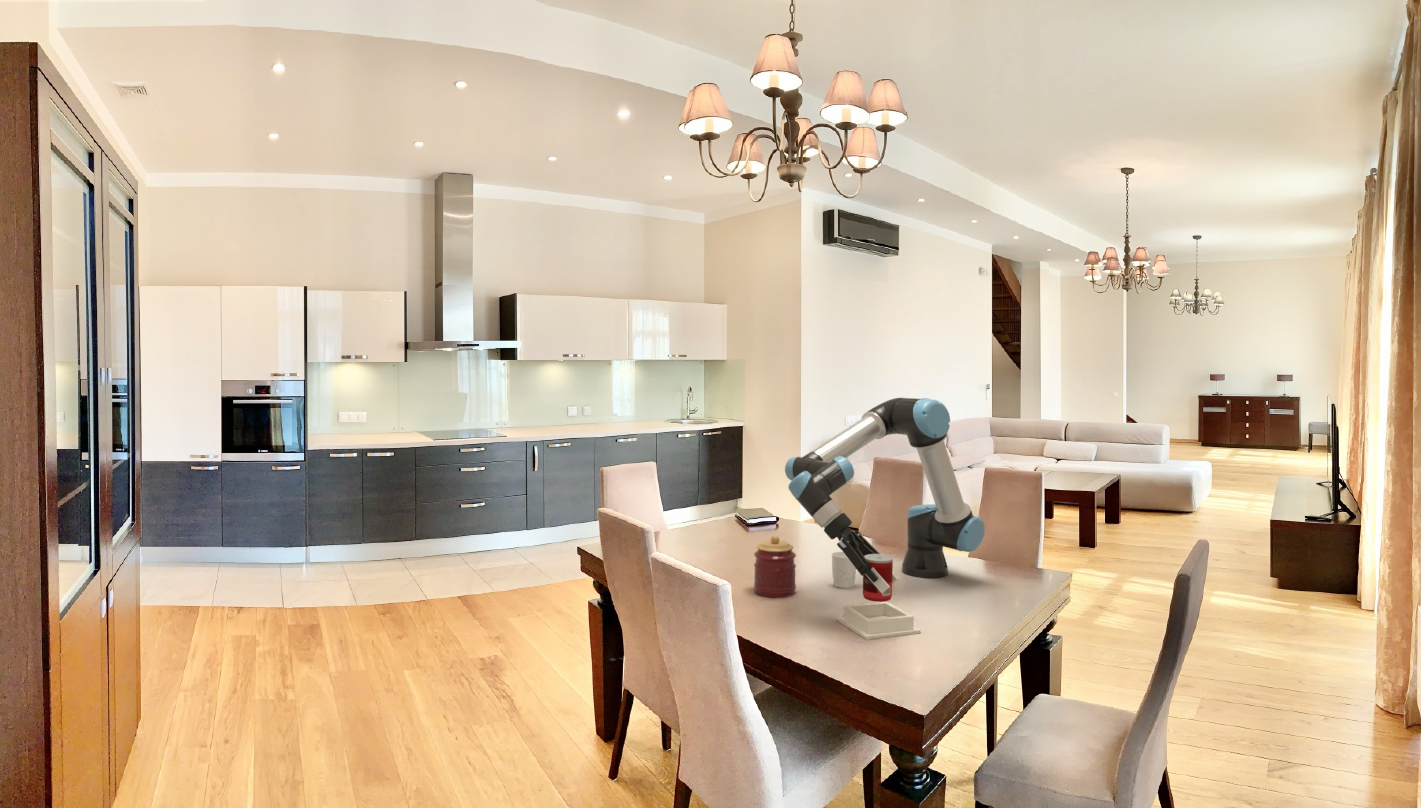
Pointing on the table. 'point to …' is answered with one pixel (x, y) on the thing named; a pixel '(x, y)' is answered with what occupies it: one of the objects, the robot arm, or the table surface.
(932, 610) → the table surface
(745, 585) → the table surface
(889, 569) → the canned food
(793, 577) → the canister
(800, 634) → the table surface
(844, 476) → the robot arm
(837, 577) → the white cup
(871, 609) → the white square tray
